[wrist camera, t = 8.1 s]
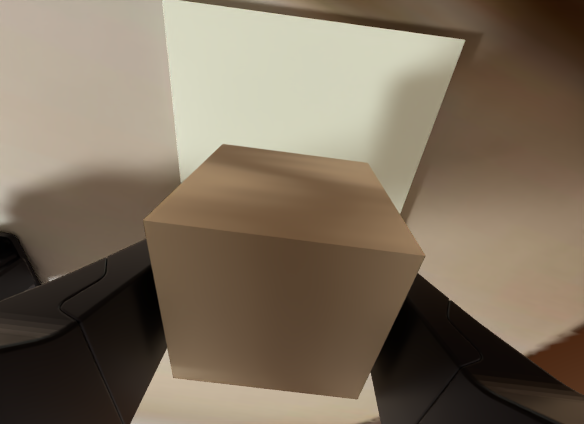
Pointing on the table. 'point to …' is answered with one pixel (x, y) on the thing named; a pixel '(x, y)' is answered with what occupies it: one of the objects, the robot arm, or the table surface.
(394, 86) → the sage board
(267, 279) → the maple cube
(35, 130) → the table surface
